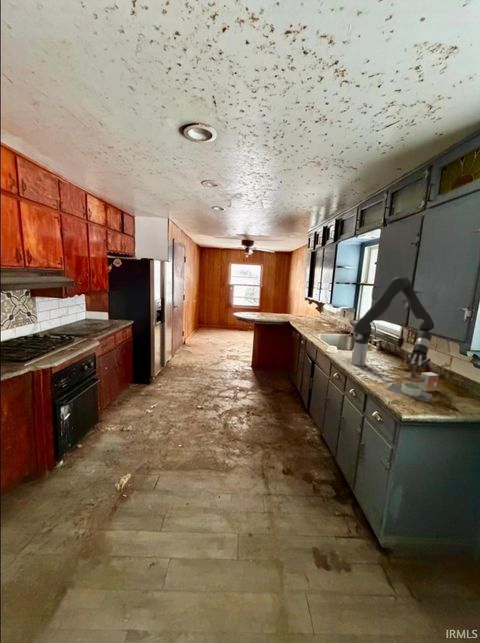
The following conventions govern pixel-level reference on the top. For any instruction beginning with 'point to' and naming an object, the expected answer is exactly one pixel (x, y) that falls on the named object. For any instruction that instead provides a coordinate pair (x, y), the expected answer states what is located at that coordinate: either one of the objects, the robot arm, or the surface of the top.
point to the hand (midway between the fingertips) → (413, 371)
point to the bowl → (411, 389)
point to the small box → (429, 381)
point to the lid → (413, 375)
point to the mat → (397, 389)
